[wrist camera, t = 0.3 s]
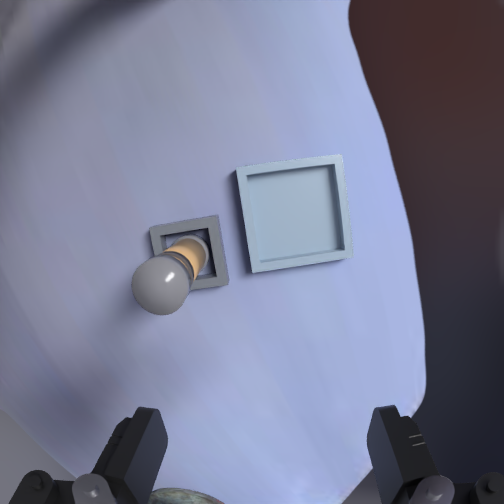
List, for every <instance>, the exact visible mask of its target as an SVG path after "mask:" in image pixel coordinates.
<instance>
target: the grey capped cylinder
mask: <svg viewBox="0 0 504 504" xmlns="http://www.w3.org/2000/svg"><path fill="white" fill-rule="evenodd" d="M209 258H210V249H209V246H208V244H207V242H206V241H205V240H204V239H203V238H202V237H200V236H198V235H195V234H187V235H184V236H182V237H180V238H179V239H177V240H176V241H175V242H174V243H173V244H172V246H170V247H169V248H168V249H166V250H165V251H164V252H162V253H160V254H158V255H156V256H153V257H152V258H150V259H148V260H147V261H146V262H144V263H143V264H141V265H140V266H139V267H138V268H137V269H136V271H135V273H134V275H133V278H132V291H133V295H134V297H135V299H136V301H137V302H138V303H139V305H140V306H141V307H142V308H144V309H145V310H146V311H148V312H150V313H153V314H156V315H168V314H171V313H173V312H175V311H177V310H178V309H179V308H180V307H181V306H182V304H183V303H184V301H185V299H186V298H187V296H188V294H189V292H190V289H191V286H192V284H193V282H194V280H195V279H196V277H197V276H198V274H199V273H200V272H201V271H202V270H203V269H204V268H205V266H206V264H207V263H208V261H209Z"/></svg>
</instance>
